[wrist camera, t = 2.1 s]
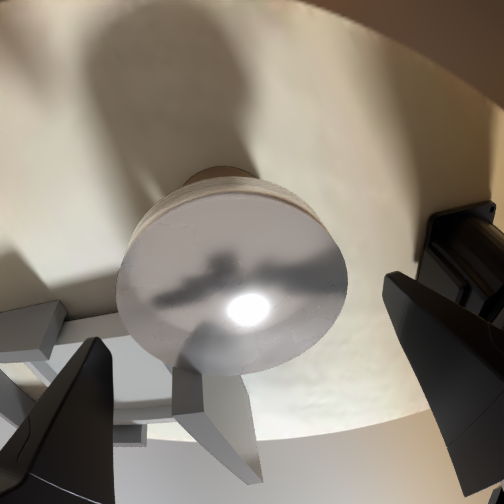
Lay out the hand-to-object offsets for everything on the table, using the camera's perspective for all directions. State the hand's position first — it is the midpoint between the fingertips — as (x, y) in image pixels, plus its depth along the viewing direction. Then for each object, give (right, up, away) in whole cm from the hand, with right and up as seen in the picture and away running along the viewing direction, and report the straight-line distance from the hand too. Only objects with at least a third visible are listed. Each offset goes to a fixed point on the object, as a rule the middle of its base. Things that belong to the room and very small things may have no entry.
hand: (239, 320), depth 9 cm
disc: (0, +1, +2) cm, 2 cm away
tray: (-9, -6, +11) cm, 16 cm away
